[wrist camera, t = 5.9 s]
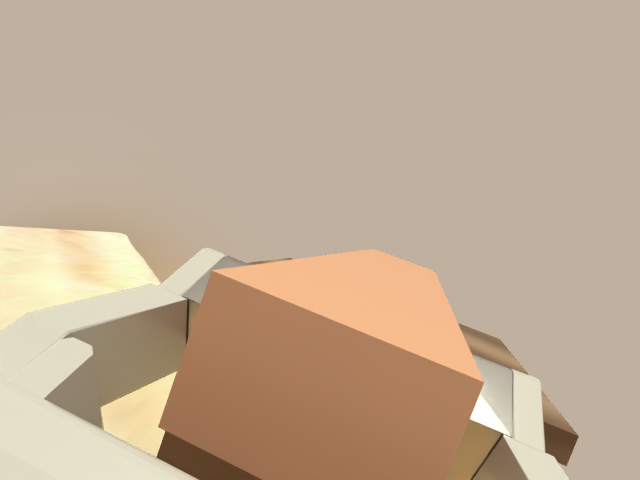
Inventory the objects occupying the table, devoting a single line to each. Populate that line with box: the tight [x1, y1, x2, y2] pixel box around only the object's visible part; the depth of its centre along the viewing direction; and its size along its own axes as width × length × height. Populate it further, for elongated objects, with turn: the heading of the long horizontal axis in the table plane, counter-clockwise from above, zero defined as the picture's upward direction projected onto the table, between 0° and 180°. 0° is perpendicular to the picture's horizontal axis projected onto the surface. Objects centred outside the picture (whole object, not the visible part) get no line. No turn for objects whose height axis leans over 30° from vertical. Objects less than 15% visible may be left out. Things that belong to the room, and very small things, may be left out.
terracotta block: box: [158, 249, 484, 480], centre depth 18 cm, size 23×4×2 cm, turn 166°
